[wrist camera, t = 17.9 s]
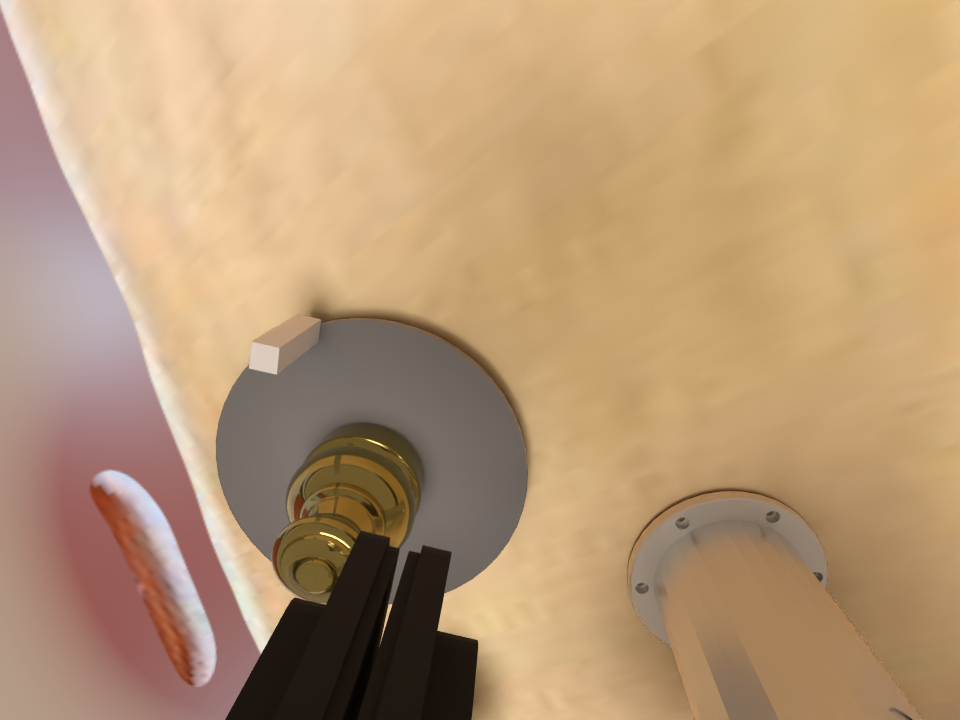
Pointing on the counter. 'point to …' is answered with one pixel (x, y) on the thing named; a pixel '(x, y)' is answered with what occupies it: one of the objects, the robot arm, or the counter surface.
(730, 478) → the counter surface
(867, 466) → the counter surface
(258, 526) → the disc
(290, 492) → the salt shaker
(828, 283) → the counter surface
